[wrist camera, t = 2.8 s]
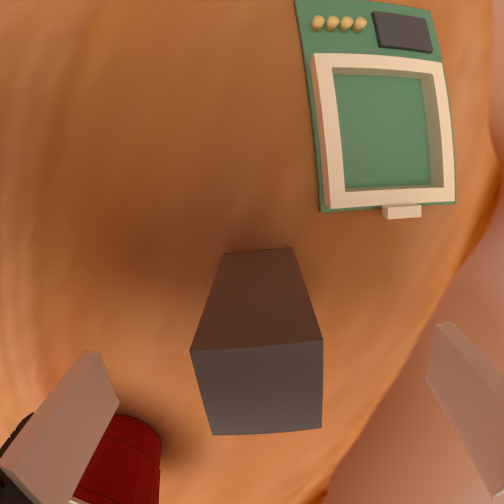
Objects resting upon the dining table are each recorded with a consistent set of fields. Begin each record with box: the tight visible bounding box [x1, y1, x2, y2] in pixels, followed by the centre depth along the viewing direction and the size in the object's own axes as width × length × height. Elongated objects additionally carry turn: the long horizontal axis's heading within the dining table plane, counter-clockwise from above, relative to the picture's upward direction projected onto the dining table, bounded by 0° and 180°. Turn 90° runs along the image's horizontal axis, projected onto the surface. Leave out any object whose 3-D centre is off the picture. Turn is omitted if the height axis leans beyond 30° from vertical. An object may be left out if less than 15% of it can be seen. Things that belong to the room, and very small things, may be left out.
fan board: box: [294, 0, 456, 219], centre depth 14 cm, size 13×9×3 cm
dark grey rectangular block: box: [189, 248, 323, 435], centre depth 15 cm, size 5×4×10 cm
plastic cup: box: [68, 414, 161, 504], centre depth 18 cm, size 11×11×12 cm
